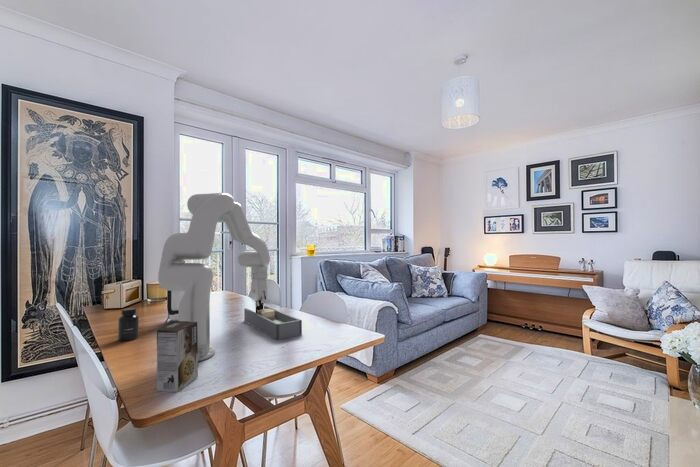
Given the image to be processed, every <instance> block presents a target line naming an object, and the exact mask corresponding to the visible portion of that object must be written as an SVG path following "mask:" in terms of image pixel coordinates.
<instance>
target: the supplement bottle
mask: <svg viewBox="0 0 700 467" xmlns="http://www.w3.org/2000/svg"><path fill="white" fill-rule="evenodd" d="M117 322H118V323H117V324H118V326H117V327H118V328H117V340H118V341H119V342H129V341H135V340H136V339H138V338H139V332H140V331H139V330H140V329H139V325H140V324H139V323H140V317H139V315H138V314H137V308H135V307H130V308H129V307H128V308H123V309H121V316H119V317H118V320H117Z"/></svg>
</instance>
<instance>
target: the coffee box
mask: <svg viewBox="0 0 700 467" xmlns="http://www.w3.org/2000/svg"><path fill="white" fill-rule="evenodd" d="M198 377H199V361H198V334H197V322H189V321H174V322H173V323H171V324H170V323H169V324H167V325H165V326H163V327H160V328H158V329H157V330H156V391H157V392H173V393H179V392H180V391H182V390H183V389H184V388H185V387H187V386H189V385H190V384H191V383H192V382H193V381H194V380H196V379H198Z"/></svg>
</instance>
